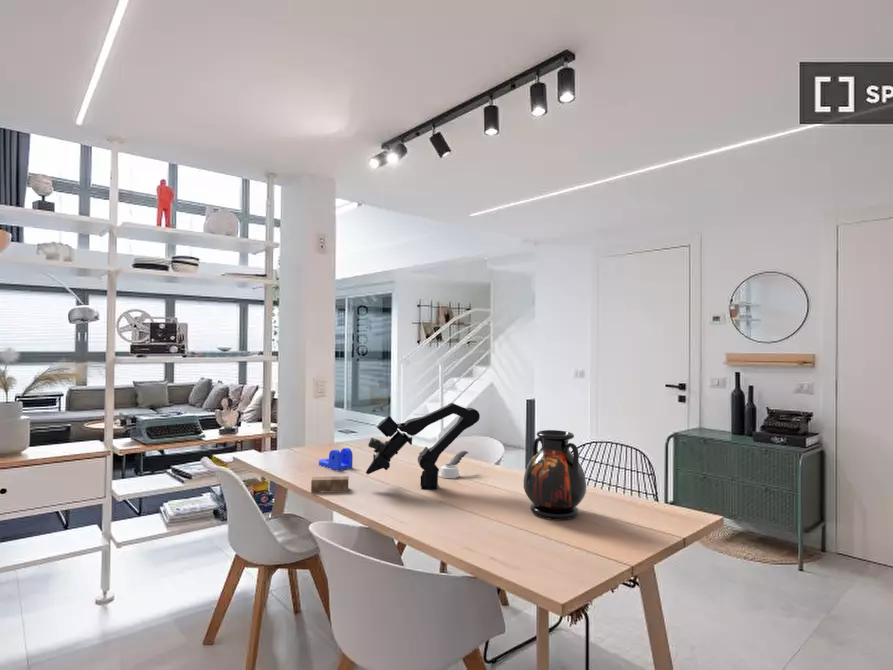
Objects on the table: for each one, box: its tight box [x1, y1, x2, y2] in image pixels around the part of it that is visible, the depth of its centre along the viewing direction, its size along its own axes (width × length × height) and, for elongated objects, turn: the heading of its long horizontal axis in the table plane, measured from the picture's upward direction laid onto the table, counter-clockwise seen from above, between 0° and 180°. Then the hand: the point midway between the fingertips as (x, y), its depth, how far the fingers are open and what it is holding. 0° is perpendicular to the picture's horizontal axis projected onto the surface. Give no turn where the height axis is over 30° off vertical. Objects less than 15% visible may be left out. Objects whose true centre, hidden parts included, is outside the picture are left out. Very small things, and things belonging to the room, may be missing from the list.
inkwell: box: [438, 450, 469, 479], centre depth 235 cm, size 9×18×10 cm, turn 140°
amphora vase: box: [522, 429, 587, 520], centre depth 182 cm, size 22×22×28 cm
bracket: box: [318, 447, 354, 471], centre depth 246 cm, size 18×8×9 cm, turn 47°
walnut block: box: [310, 475, 349, 493], centre depth 205 cm, size 5×5×14 cm
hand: (366, 473), depth 208 cm, fingers closed
